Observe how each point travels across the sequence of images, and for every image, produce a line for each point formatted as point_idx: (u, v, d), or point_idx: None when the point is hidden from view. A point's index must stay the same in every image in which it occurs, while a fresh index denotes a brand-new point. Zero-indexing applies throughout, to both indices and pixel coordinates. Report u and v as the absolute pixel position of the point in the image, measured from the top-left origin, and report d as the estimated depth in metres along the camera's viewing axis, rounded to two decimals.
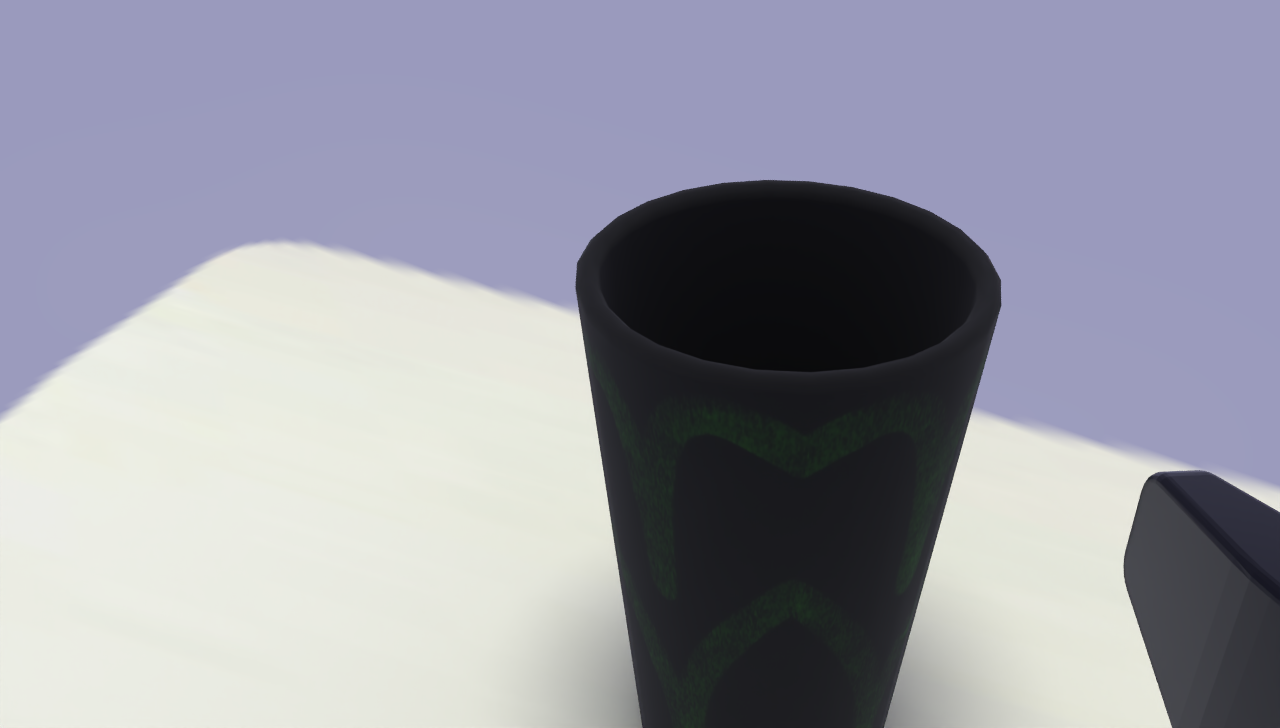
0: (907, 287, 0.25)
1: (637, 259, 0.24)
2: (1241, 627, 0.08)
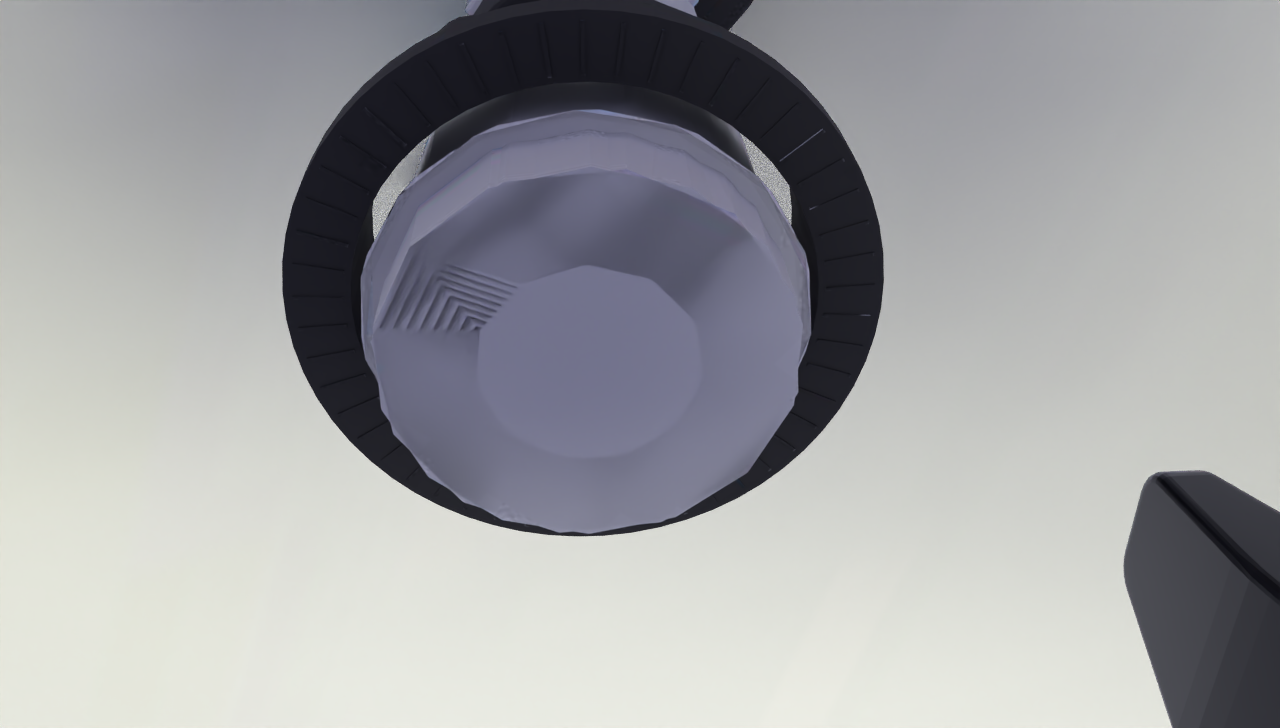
0: None
1: None
2: (1241, 627, 0.08)
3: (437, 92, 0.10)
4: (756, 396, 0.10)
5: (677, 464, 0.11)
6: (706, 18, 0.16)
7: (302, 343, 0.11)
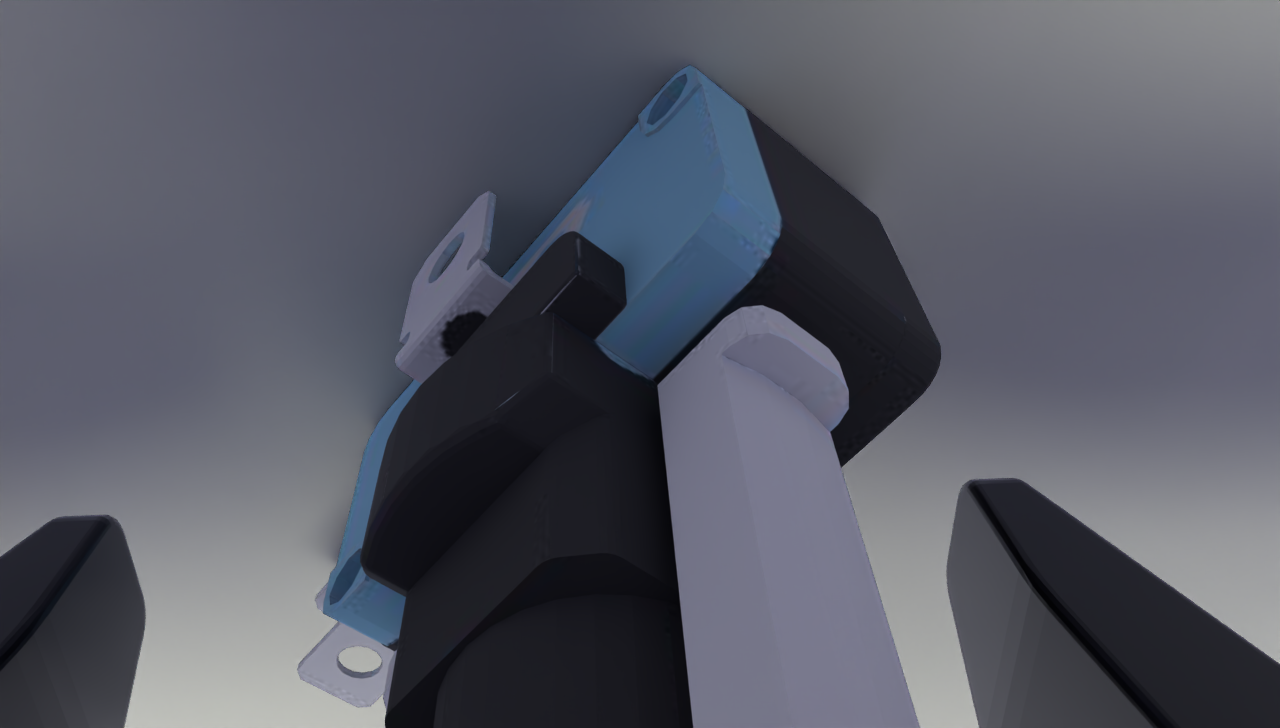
0: None
1: None
2: (1027, 637, 0.08)
3: None
4: None
5: None
6: (843, 415, 0.08)
7: None
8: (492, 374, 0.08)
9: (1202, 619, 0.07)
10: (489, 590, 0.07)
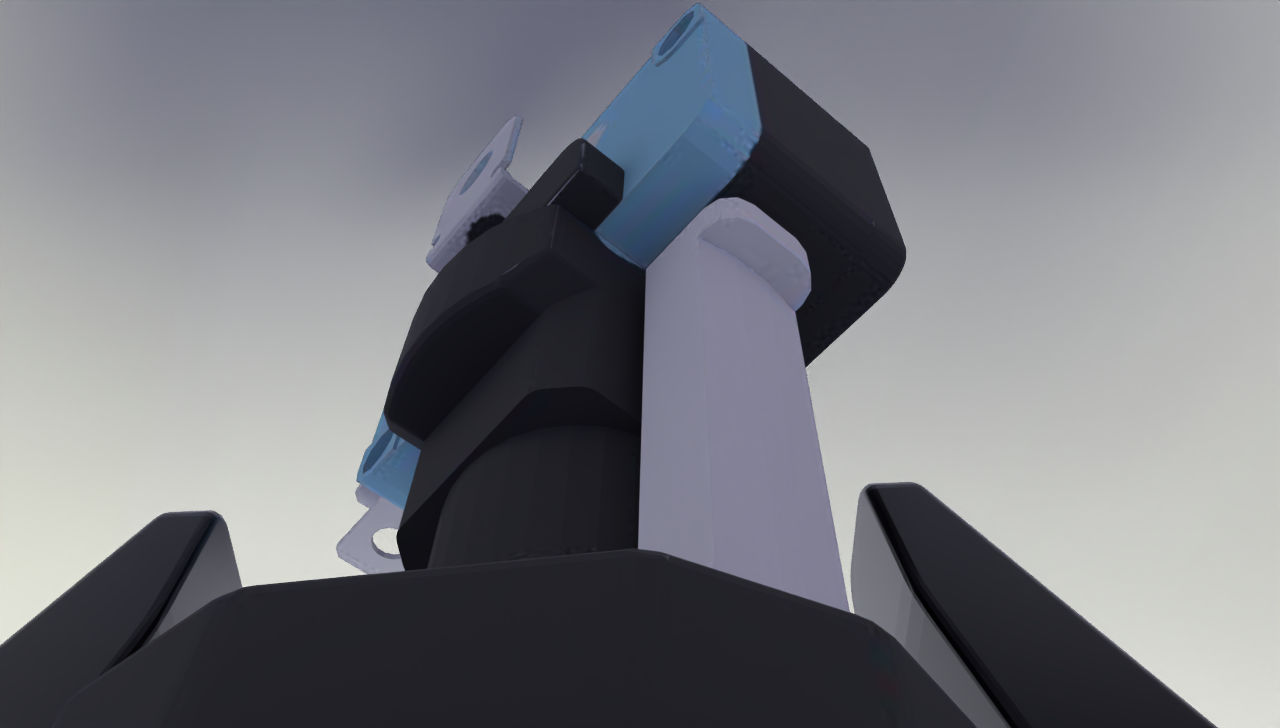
0: None
1: None
2: (910, 642, 0.08)
3: None
4: None
5: None
6: (815, 308, 0.09)
7: None
8: (501, 251, 0.09)
9: (1076, 625, 0.07)
10: (488, 423, 0.08)
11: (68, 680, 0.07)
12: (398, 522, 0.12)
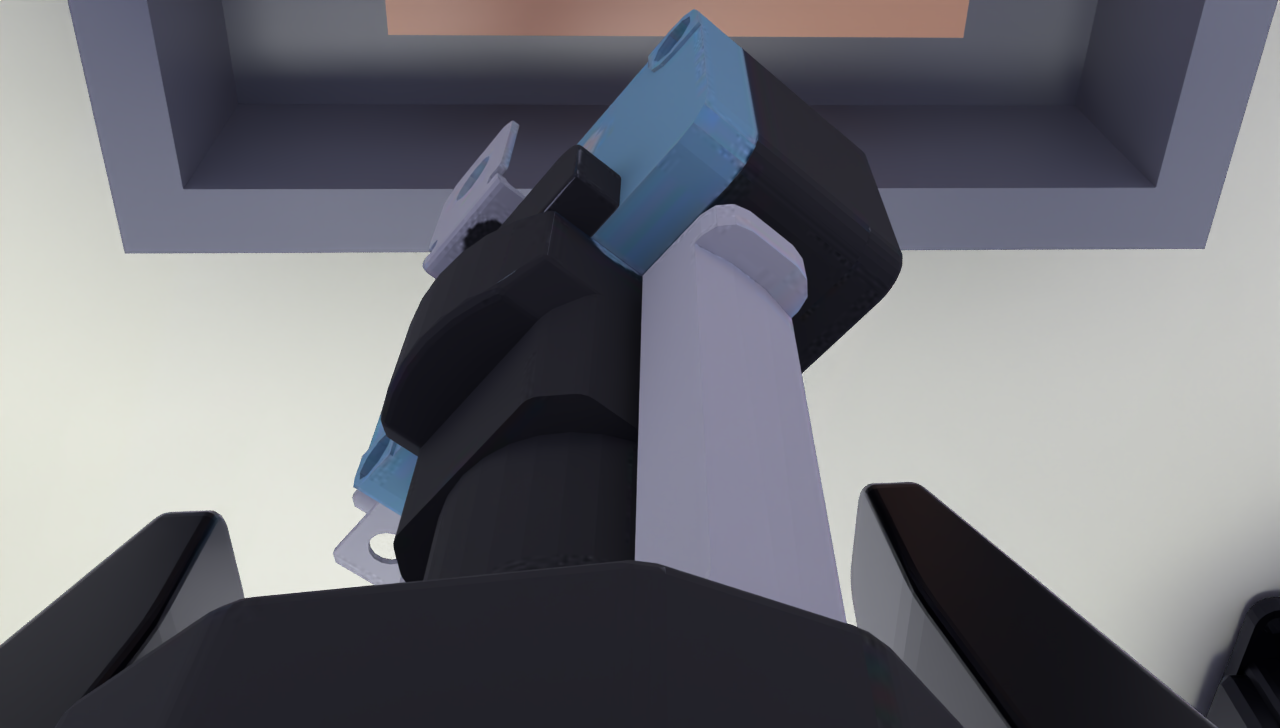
0: None
1: None
2: (910, 642, 0.08)
3: None
4: None
5: None
6: (811, 314, 0.09)
7: None
8: (497, 258, 0.09)
9: (1076, 625, 0.07)
10: (485, 429, 0.08)
11: (68, 680, 0.07)
12: (395, 527, 0.12)
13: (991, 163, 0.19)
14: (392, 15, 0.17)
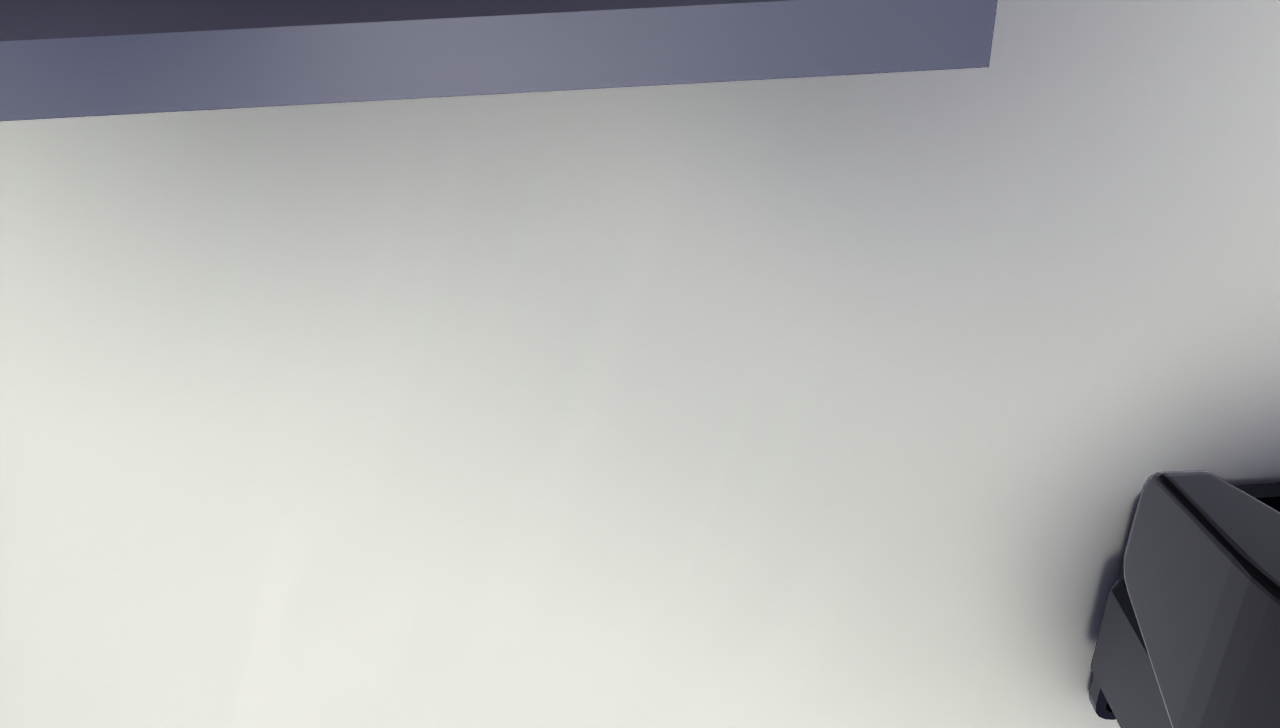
0: None
1: None
2: (1241, 627, 0.08)
3: None
4: None
5: None
6: None
7: None
8: None
9: None
10: None
11: None
12: None
13: None
14: None
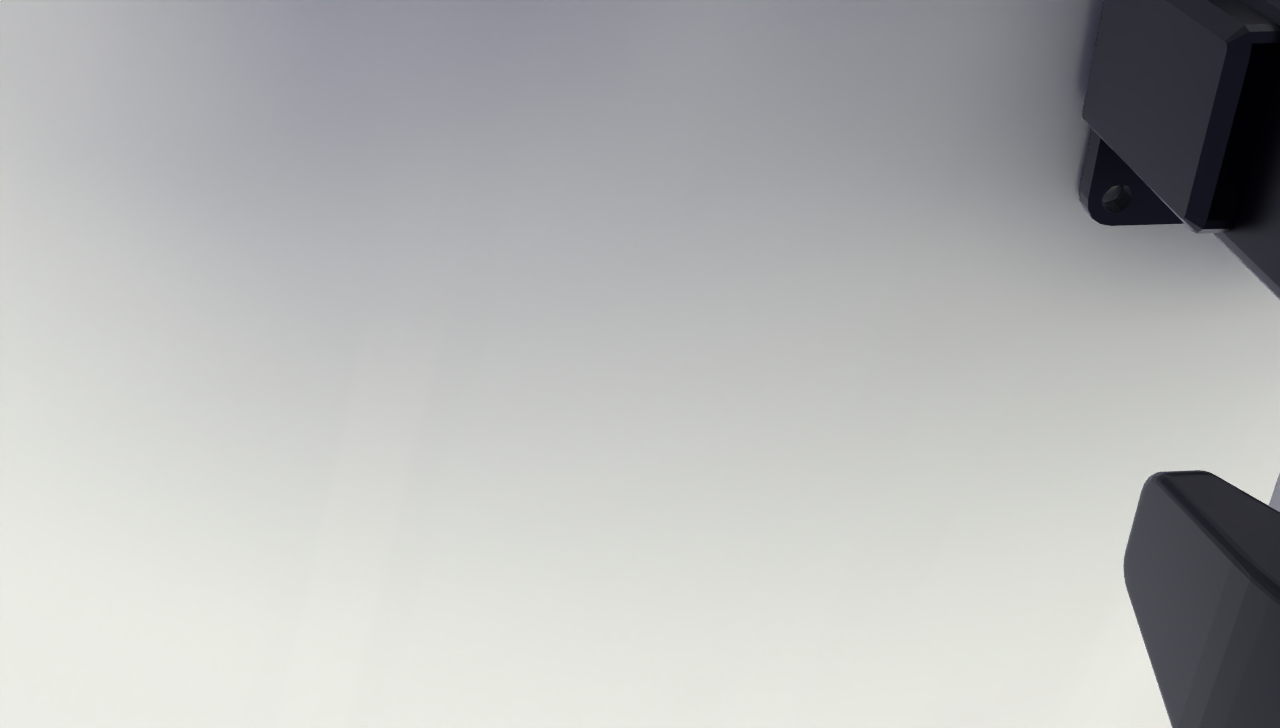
0: None
1: None
2: (1241, 627, 0.08)
3: None
4: None
5: None
6: None
7: None
8: None
9: None
10: None
11: None
12: None
13: None
14: None
